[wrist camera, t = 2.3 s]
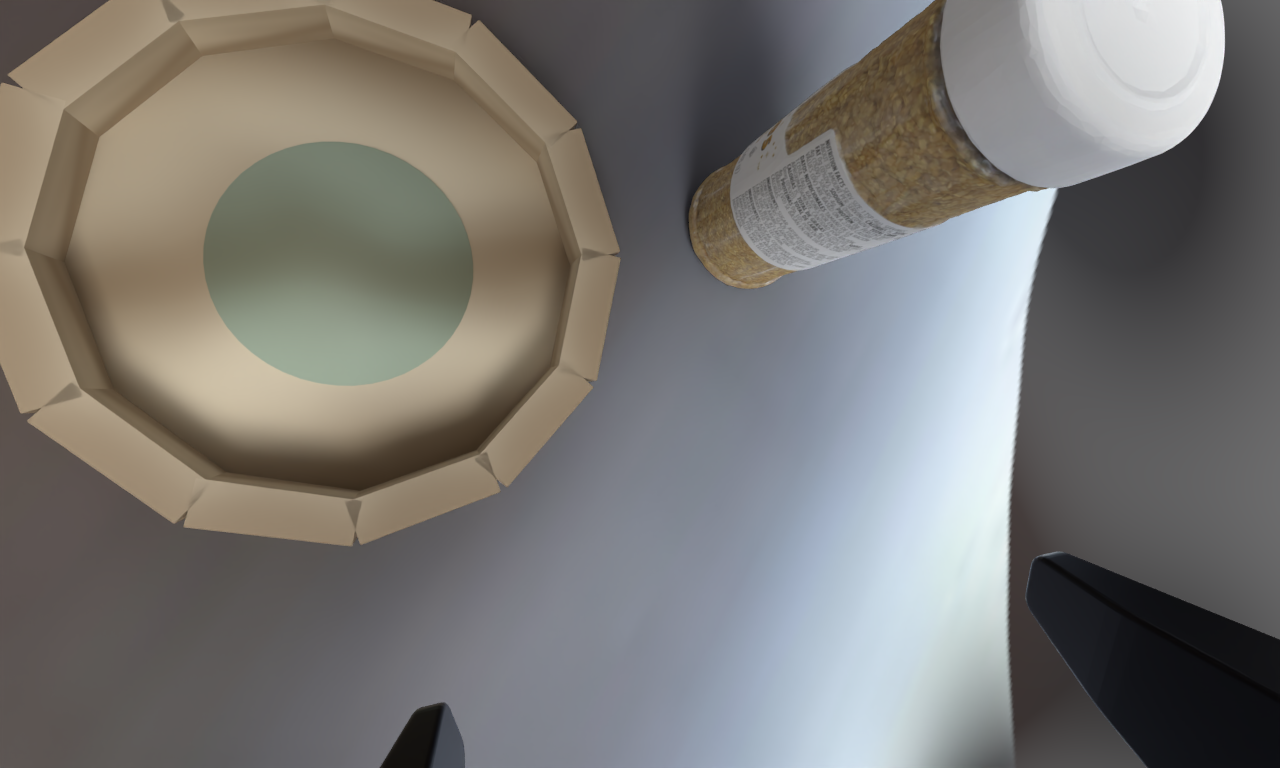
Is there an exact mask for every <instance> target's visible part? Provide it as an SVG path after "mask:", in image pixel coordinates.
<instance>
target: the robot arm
mask: <svg viewBox="0 0 1280 768" xmlns="http://www.w3.org/2000/svg"><path fill="white" fill-rule="evenodd" d="M1026 602H1027V605H1028V607H1029V609H1030V611H1031V613H1032V614H1033V616H1034V617H1035V619H1036V620H1037V621H1038V623H1039V624H1040V626H1041V628H1042V629H1043V630H1044V632H1045V633H1046V635H1047V636H1048V638H1049V639H1050V640H1051V642H1052V643H1053V645H1054V646H1055V647H1056V649H1057V651H1058V652H1059V654H1060V655H1061V656H1062V658H1063V659H1064V661H1065V662H1066V664H1067V665H1068V667H1069V668H1070V670H1071V671H1072V672H1073V674H1074V675H1075V677H1076V678H1077V680H1078V681H1079V683H1080V684H1081V685H1082V687H1083V688H1084V690H1085V691H1086V692H1087V694H1088V695H1089V697H1090V698H1091V699H1092V701H1093V702H1094V703H1095V705H1096V706H1097V707H1098V709H1099V710H1100V711H1101V712H1102V714H1103V715H1104V716H1105V717H1106V719H1107V720H1108V721H1109V722H1110V724H1111V725H1112V726H1113V727H1114V728H1115V730H1116V731H1117V732H1118V733H1119V735H1120V736H1121V737H1122V738H1123V739H1124V741H1125V742H1126V743H1127V744H1128V745H1129V746H1130V748H1131V749H1132V750H1133V751H1134V753H1135V754H1136V755H1137V756H1138V757H1139V759H1140V760H1141V761H1142V762H1143V764H1144V765H1145V766H1146V767H1147V768H1280V640H1279V639H1277V638H1275V637H1272V636H1270V635H1267V634H1265V633H1262V632H1260V631H1257V630H1255V629H1252V628H1250V627H1248V626H1245V625H1243V624H1240V623H1238V622H1235V621H1233V620H1230V619H1228V618H1225V617H1223V616H1220V615H1218V614H1216V613H1213V612H1211V611H1208V610H1206V609H1203V608H1201V607H1198V606H1196V605H1193V604H1191V603H1188V602H1186V601H1184V600H1181V599H1179V598H1176V597H1174V596H1171V595H1168V594H1166V593H1164V592H1161V591H1159V590H1157V589H1154V588H1152V587H1149V586H1147V585H1144V584H1142V583H1139V582H1137V581H1134V580H1132V579H1129V578H1127V577H1124V576H1122V575H1120V574H1117V573H1114V572H1112V571H1110V570H1107V569H1105V568H1102V567H1100V566H1097V565H1095V564H1092V563H1090V562H1088V561H1085V560H1083V559H1080V558H1078V557H1075V556H1073V555H1070V554H1067V553H1065V552H1053V553H1049V554H1045V555H1041V556H1038V557H1036V558H1035V559H1034V560H1033V561H1032V564H1031V568H1030V573H1029V579H1028V584H1027V589H1026ZM380 768H465V753H464V745H463V740H462V737H461V734H460V732H459V729H458V727H457V724H456V722H455V720H454V717H453V715H452V712H451V710H450V708H449V706H448V705H447V704H446V703H437V704H433V705H429V706H425V707H421V708H419V709H417V710H416V711H415V712H414V713H413V715H412V716H411V718H410V719H409V721H408V723H407V724H406V726H405V727H404V729H403V731H402V732H401V734H400V736H399V737H398V739H397V741H396V742H395V744H394V746H393V747H392V749H391V750H390V752H389V754H388V755H387V757H386V759H385V760H384V762H383V764H382V765H381V767H380Z"/></svg>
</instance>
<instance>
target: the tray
mask: <svg viewBox="0 0 1280 768" xmlns="http://www.w3.org/2000/svg"><path fill="white" fill-rule="evenodd" d="M471 20H472V15H470V14H468V13H465V12H462V11H460V10H457V9H455V8H452V7H449V6H447V5H444V4H442V3H439V2H436V1H434V0H109V1H108V2H106V3H105V4H104V5H102V6H101V7H100V8H98V9H97V10H95V11H94V12H93V13H91V14H90V15H89V16H87V17H86V18H84V19H83V20H82V21H80V22H79V23H78V24H76V25H75V26H73V27H72V28H71V29H69V30H68V31H67V32H65V33H64V34H63V35H61V36H60V37H58V38H57V39H56V40H54V41H53V42H52V43H50V44H49V45H47V46H46V47H45V48H43V49H42V50H41V51H39V52H38V53H37V54H35V55H34V56H32V57H31V58H30V59H28V60H27V61H26V62H24V63H23V64H21V65H20V66H19V67H17V68H16V69H15V70H13V71H12V72H10V73H9V74H8V76H9V77H11V78H12V79H13V80H14V81H15V82H17V83H18V84H19V85H20V86H22V87H23V88H24V89H23V88H19V87H16V86H12V85H9V84H5V83H1V87H0V364H1V366H2V369H3V371H4V374H5V376H6V379H7V381H8V383H9V386H10V388H11V391H12V393H13V396H14V398H15V401H16V403H17V406H18V408H19V411H20V413H35V414H34V415H33V416H32V417H31V418H30V419H29V420H28V421H27V422H29V423H30V424H32V425H33V426H34V427H36V428H37V429H39V430H40V431H42V432H43V433H44V434H46V435H47V436H49V437H50V438H52V439H53V440H54V441H56V442H57V443H59V444H60V445H62V446H63V447H65V448H66V449H67V450H69V451H70V452H72V453H73V454H75V455H76V456H77V457H79V458H80V459H82V460H83V461H85V462H86V463H87V464H89V465H90V466H92V467H93V468H95V469H96V470H98V471H99V472H100V473H102V474H103V475H105V476H106V477H108V478H109V479H110V480H112V481H113V482H115V483H116V484H118V485H119V486H120V487H122V488H123V489H125V490H126V491H128V492H129V493H130V494H132V495H133V496H135V497H136V498H138V499H139V500H141V501H142V502H143V503H145V504H146V505H148V506H149V507H151V508H152V509H153V510H155V511H156V512H158V513H159V514H161V515H162V516H163V517H165V518H166V519H168V520H169V521H171V522H172V523H177V522H179V521H181V520H183V519H185V518H186V519H185V523H184V527H186V528H194V529H203V530H212V531H221V532H230V533H238V534H247V535H256V536H265V537H274V538H283V539H291V540H300V541H309V542H318V543H327V544H335V545H344V546H352V545H353V543H354V542H355V540H356V538H357V537H358V539H359V542H360V545H362V544H365V543H367V542H370V541H373V540H375V539H378V538H381V537H383V536H386V535H388V534H391V533H394V532H396V531H399V530H402V529H404V528H407V527H410V526H412V525H415V524H417V523H420V522H423V521H425V520H428V519H431V518H433V517H436V516H439V515H441V514H444V513H446V512H449V511H452V510H454V509H457V508H460V507H462V506H465V505H468V504H470V503H473V502H475V501H478V500H481V499H483V498H486V497H489V496H491V495H494V494H497V493H499V492H501V491H500V488H499V485H498V483H497V480H499V481H500V482H501V483H502V484H503V485H505V486H506V487H508V486H509V485H510V484H511V483H512V481H513V480H514V479H515V478H516V477H517V476H518V474H519V473H520V472H521V471H522V470H523V469H524V467H525V466H526V465H527V464H528V463H529V462H530V460H531V459H532V458H533V457H534V456H535V455H536V453H537V452H538V451H539V450H540V449H541V448H542V447H543V445H544V444H545V443H546V442H547V441H548V440H549V438H550V437H551V436H552V435H553V434H554V433H555V431H556V430H557V429H558V428H559V427H560V426H561V424H562V423H563V422H564V421H565V420H566V419H567V417H568V416H569V415H570V414H571V413H572V412H573V411H574V409H575V408H576V407H577V406H578V405H579V404H580V402H581V401H582V400H583V399H584V398H585V397H586V395H587V394H588V393H589V392H590V391H591V390H592V388H593V386H592V385H590V384H589V383H588V382H590V381H597V377H598V372H599V366H600V361H601V356H602V351H603V346H604V341H605V336H606V331H607V326H608V321H609V315H610V310H611V305H612V300H613V295H614V290H615V285H616V280H617V275H618V270H619V265H620V259H621V258H619V257H615V255H616V254H617V253H619V252H620V249H619V246H618V243H617V240H616V236H615V233H614V230H613V227H612V224H611V221H610V217H609V214H608V211H607V208H606V205H605V202H604V199H603V195H602V192H601V189H600V186H599V183H598V180H597V177H596V173H595V170H594V167H593V164H592V161H591V158H590V154H589V151H588V148H587V145H586V142H585V139H584V136H583V132H582V129H581V128H579V129H574V127H575V125H576V123H577V121H576V120H575V119H574V118H573V117H572V116H571V115H570V113H569V112H568V111H567V110H566V109H565V108H564V107H563V106H562V105H561V104H560V103H559V102H558V101H557V100H556V99H555V98H554V97H553V96H552V95H551V94H550V93H549V92H548V91H547V90H546V89H545V88H544V87H543V86H542V85H541V83H540V82H539V81H538V80H537V79H536V78H535V77H534V76H533V75H532V74H531V73H530V72H529V71H528V70H527V69H526V68H525V67H524V66H523V65H522V64H521V63H520V62H519V61H518V60H517V59H516V58H515V57H514V56H513V54H512V53H511V52H510V51H509V50H508V49H507V48H506V47H505V46H504V45H503V44H502V43H501V42H500V41H499V40H498V39H497V38H496V37H495V36H494V35H493V34H492V33H491V32H490V31H489V30H488V29H487V28H486V27H485V26H484V24H483V23H482V22H481V21H480V20H478V21H477V22H476V23H475V24H474V25H473V26H472V27H471ZM573 129H574V130H573ZM496 479H497V480H496Z"/></svg>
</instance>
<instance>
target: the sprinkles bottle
mask: <svg viewBox="0 0 1280 768" xmlns="http://www.w3.org/2000/svg"><path fill="white" fill-rule="evenodd" d="M1224 47H1225V31H1224V17H1223V9H1222V4H1221V0H935V1H934V2H932V3H931V4H930V5H929V6H928V7H927V8H926V9H925V10H924V11H923V12H921V13H919V14H918V15H916V16H915V17H914V18H912V19H911V20H910V21H909V22H907V23H906V24H905V25H904V26H903V27H902V28H900V29H899V30H898V31H896V32H895V33H894V34H892V35H891V36H890V37H889V38H887V39H886V40H885V41H883V42H882V43H881V44H880V45H879V46H878V47H876V48H875V49H873V50H872V51H870V52H869V53H868V54H867V55H866V56H865V57H864V58H862V59H861V60H860V61H859V62H858V63H856V64H854V65H852V66H850V67H849V68H847V69H845V70H844V71H843V72H841V73H840V74H838V75H837V76H836V77H834V78H833V79H832V80H830V81H829V82H828V83H826V84H825V85H824V86H822V87H821V88H820V89H819V90H817V91H816V92H815V93H814V94H812V95H811V96H810V97H809V98H807V99H806V100H805V101H804V102H803V103H801V104H800V105H799V106H798V107H796V108H795V109H794V110H793V111H791V112H790V113H789V114H788V115H786V116H785V117H784V118H783V119H781V120H780V121H779V122H778V123H776V124H775V125H774V126H773V127H771V128H770V129H769V130H767V131H766V132H765V133H764V134H762V135H761V136H760V137H759V138H758V139H756V140H755V141H754V142H753V143H751V144H750V145H749V146H748V147H747V148H746V150H745V151H744V152H743V153H742V154H741V155H740V156H739V157H738V158H736V159H735V160H734V161H733V162H731V163H729V164H728V165H726V166H724V167H721V168H719V169H718V170H716V171H715V172H713V173H712V174H710V175H709V176H708V177H707V178H706V179H705V180H704V181H703V183H702V184H701V185H700V187H699V188H698V190H697V191H696V193H695V195H694V196H693V199H692V203H691V207H690V211H689V230H690V238H691V241H692V245H693V249H694V252H695V253H696V255H697V257H698V258H699V259H700V260H701V262H702V263H703V265H704V267H705V268H706V269H707V270H708V271H709V272H710V273H711V274H712V275H713V276H714V277H716V278H717V279H718V280H720V281H722V282H723V283H725V284H726V285H730V286H734V287H737V288H744V289H753V288H759V287H763V286H766V285H769V284H771V283H773V282H775V281H776V280H777V279H779V278H780V277H781V276H783V275H785V274H789V273H792V272H795V271H798V270H806V269H810V268H814V267H817V266H820V265H823V264H826V263H829V262H831V261H834V260H837V259H840V258H843V257H846V256H850V255H853V254H856V253H859V252H862V251H865V250H867V249H871V248H874V247H877V246H880V245H882V244H885V243H888V242H891V241H894V240H897V239H900V238H903V237H906V236H908V235H911V234H914V233H917V232H920V231H923V230H926V229H928V228H931V227H934V226H937V225H940V224H942V223H943V222H945V221H947V220H948V219H950V218H953V217H956V216H959V215H961V214H963V213H966V212H969V211H972V210H975V209H977V208H980V207H983V206H985V205H989V204H992V203H995V202H998V201H1001V200H1004V199H1006V198H1008V197H1012V196H1015V195H1018V194H1021V193H1024V192H1026V191H1040V190H1043V189H1047V188H1060V187H1066V186H1071V185H1074V184H1077V183H1080V182H1083V181H1086V180H1089V179H1092V178H1095V177H1098V176H1101V175H1104V174H1107V173H1110V172H1113V171H1116V170H1118V169H1121V168H1124V167H1127V166H1129V165H1132V164H1135V163H1137V162H1140V161H1142V160H1145V159H1148V158H1150V157H1153V156H1156V155H1159V154H1161V153H1163V152H1165V151H1167V150H1169V149H1170V148H1172V147H1174V146H1175V145H1177V144H1178V143H1180V142H1181V141H1182V140H1183V139H1185V138H1186V137H1187V136H1188V135H1189V134H1190V133H1191V132H1192V131H1193V130H1194V129H1195V128H1196V126H1197V125H1198V124H1199V123H1200V121H1201V120H1202V118H1203V117H1204V115H1205V114H1206V112H1207V111H1208V109H1209V107H1210V105H1211V102H1212V100H1213V98H1214V96H1215V93H1216V90H1217V87H1218V85H1219V81H1220V76H1221V72H1222V66H1223V59H1224V49H1225V48H1224Z"/></svg>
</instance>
